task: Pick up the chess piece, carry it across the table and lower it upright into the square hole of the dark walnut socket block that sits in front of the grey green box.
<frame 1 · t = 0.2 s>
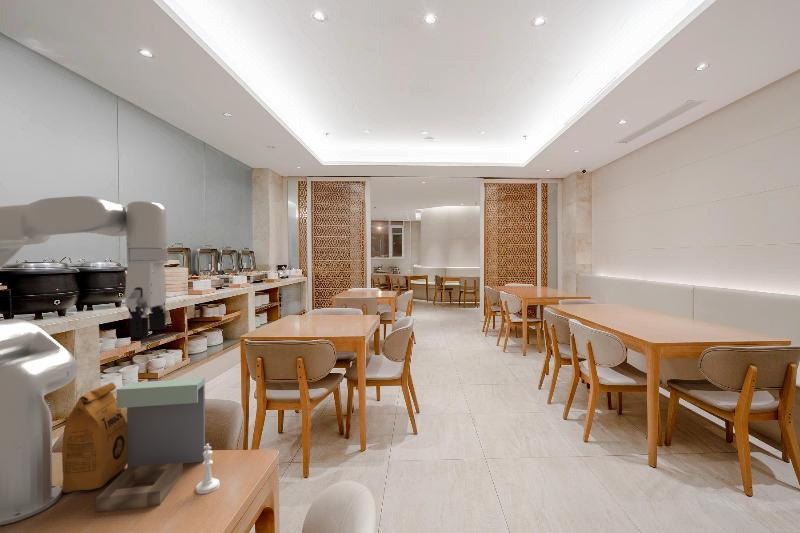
hand: (149, 332, 83), 36 cm above the table, tool pointing down, fingers open, 9 cm apart
grey green box: (163, 468, 93), on the table
chess piece: (207, 488, 85), on the table
socket block: (143, 491, 83), on the table
coffee package: (98, 480, 88), on the table
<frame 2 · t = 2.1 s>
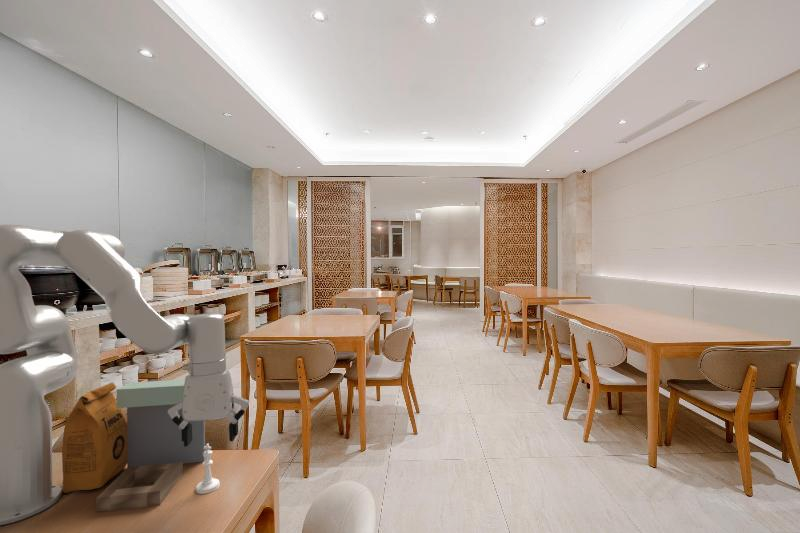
hand: (210, 441, 85), 11 cm above the table, tool pointing down, fingers open, 9 cm apart
nothing on the table moved.
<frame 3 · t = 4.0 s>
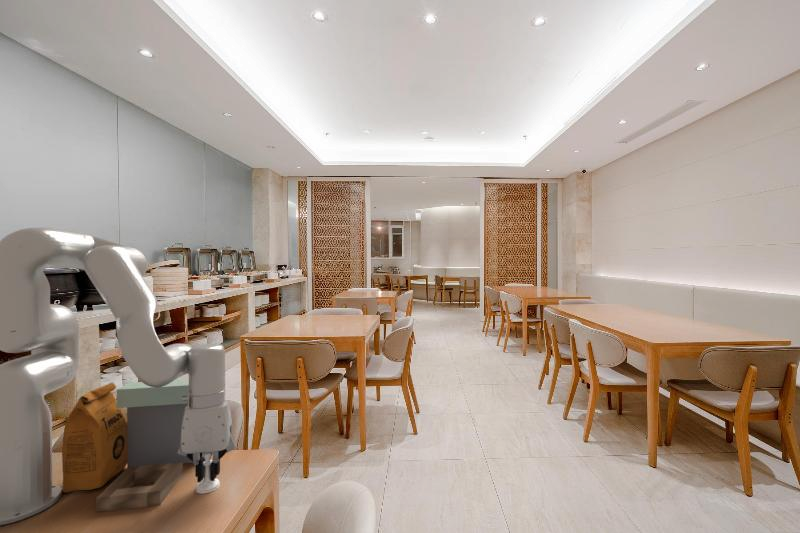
hand: (207, 477, 85), 2 cm above the table, tool pointing down, fingers closed on chess piece
chess piece: (207, 488, 85), on the table, touching gripper
everything else where it was.
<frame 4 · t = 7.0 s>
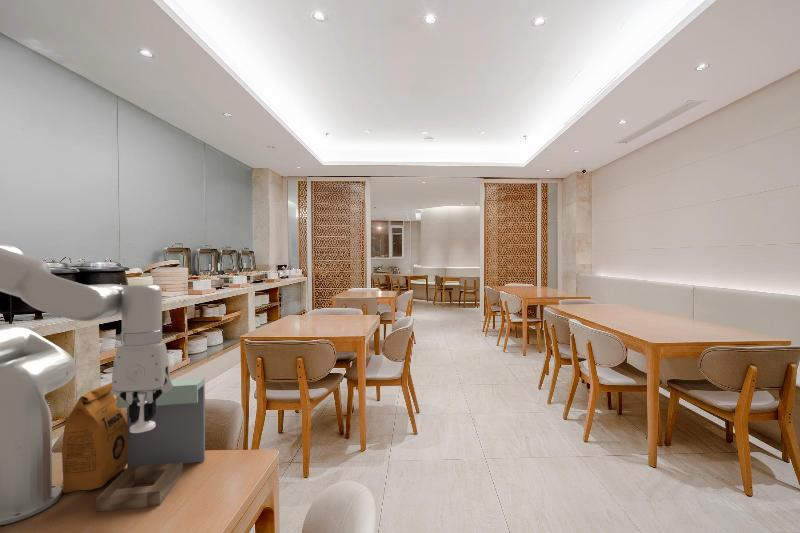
hand: (142, 419, 83), 16 cm above the table, tool pointing down, fingers closed on chess piece
chess piece: (142, 429, 83), point 14 cm above the table, touching gripper
everything else where it was.
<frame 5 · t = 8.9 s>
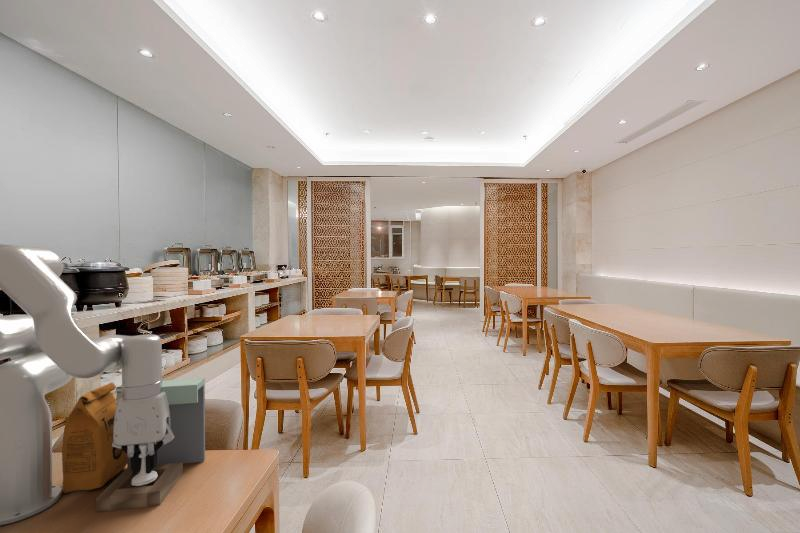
hand: (144, 470, 83), 5 cm above the table, tool pointing down, fingers closed on chess piece
chess piece: (144, 480, 83), point 2 cm above the table, touching gripper
everything else where it was.
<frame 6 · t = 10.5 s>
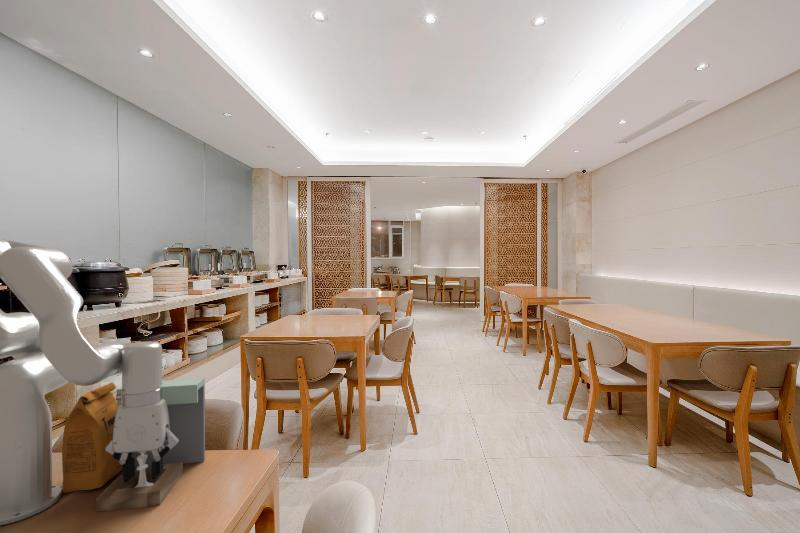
hand: (143, 476, 83), 3 cm above the table, tool pointing down, fingers open, 4 cm apart
chess piece: (142, 492, 83), resting in socket block
everything else where it was.
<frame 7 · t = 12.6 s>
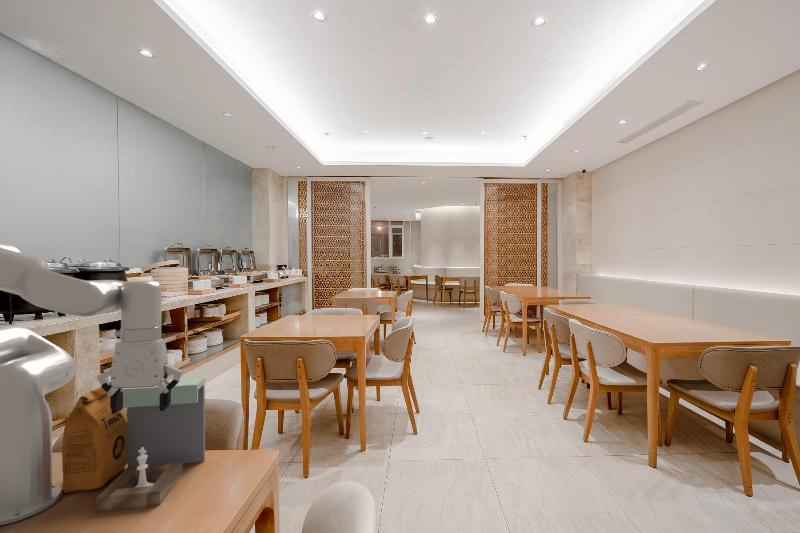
hand: (141, 410, 83), 18 cm above the table, tool pointing down, fingers open, 9 cm apart
nothing on the table moved.
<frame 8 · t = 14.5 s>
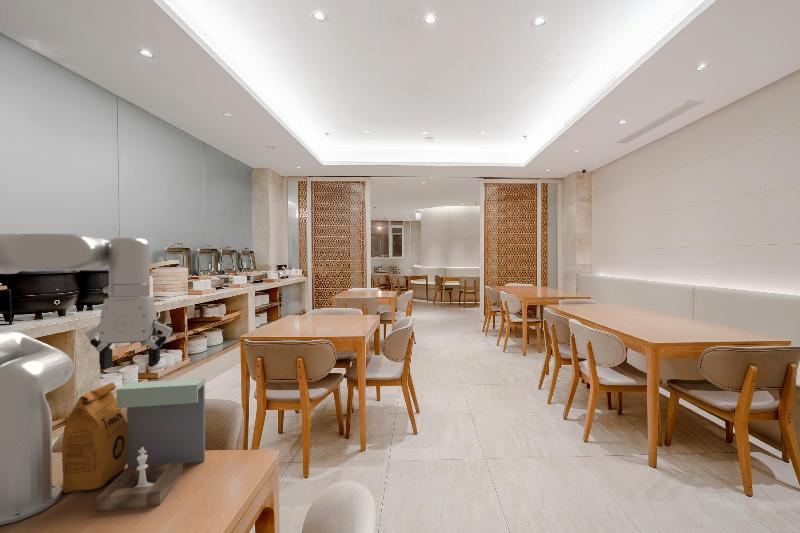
hand: (130, 366, 84), 28 cm above the table, tool pointing down, fingers open, 9 cm apart
nothing on the table moved.
at the end: chess piece 0.2 cm off-centre on the socket block, point 0.0 cm above the socket block's base; chess piece tilted 0°; the gripper is holding nothing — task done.
